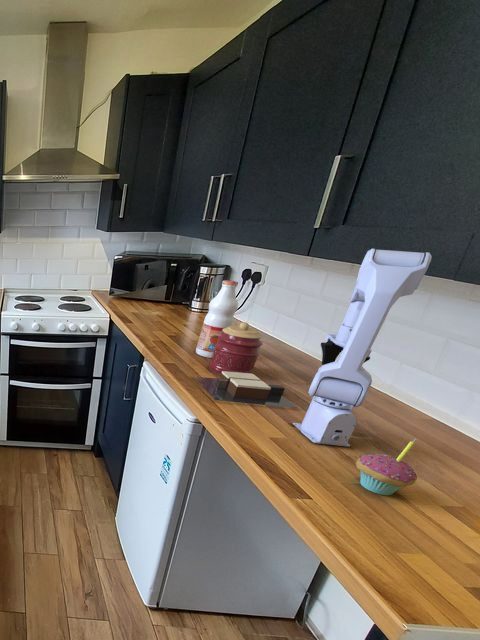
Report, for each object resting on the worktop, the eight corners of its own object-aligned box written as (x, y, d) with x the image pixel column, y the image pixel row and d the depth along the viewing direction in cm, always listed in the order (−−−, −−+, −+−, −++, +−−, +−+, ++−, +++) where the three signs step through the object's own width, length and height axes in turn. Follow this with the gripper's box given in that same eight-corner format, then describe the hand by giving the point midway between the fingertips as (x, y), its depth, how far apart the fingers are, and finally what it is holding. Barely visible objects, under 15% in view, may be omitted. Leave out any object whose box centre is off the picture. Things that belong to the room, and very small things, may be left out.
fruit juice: (206, 349, 160) (227, 278, 149) (228, 357, 152) (252, 283, 141) (189, 352, 157) (209, 279, 145) (210, 360, 149) (233, 284, 137)
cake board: (297, 409, 113) (298, 407, 113) (214, 402, 116) (215, 400, 115) (264, 384, 129) (264, 382, 129) (192, 378, 132) (192, 376, 132)
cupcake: (380, 477, 85) (408, 428, 80) (417, 504, 77) (451, 452, 72) (337, 473, 85) (362, 424, 80) (370, 500, 77) (399, 448, 73)
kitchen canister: (216, 377, 133) (232, 325, 126) (202, 363, 145) (216, 315, 138) (258, 381, 131) (277, 329, 124) (241, 367, 143) (257, 319, 136)
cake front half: (266, 400, 117) (271, 387, 115) (233, 397, 118) (237, 384, 116) (258, 393, 121) (262, 381, 119) (226, 390, 122) (230, 378, 121)
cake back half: (256, 391, 122) (260, 379, 121) (224, 388, 123) (228, 376, 122) (248, 385, 126) (252, 373, 125) (218, 382, 128) (222, 371, 126)
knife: (278, 393, 122) (281, 384, 121) (282, 395, 120) (285, 386, 119) (215, 387, 124) (218, 378, 123) (218, 390, 122) (221, 381, 121)
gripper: (392, 335, 102) (369, 383, 108) (352, 320, 115) (332, 364, 121) (362, 333, 103) (340, 381, 109) (325, 318, 116) (307, 362, 122)
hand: (334, 372), depth 115 cm, fingers open, 7 cm apart
